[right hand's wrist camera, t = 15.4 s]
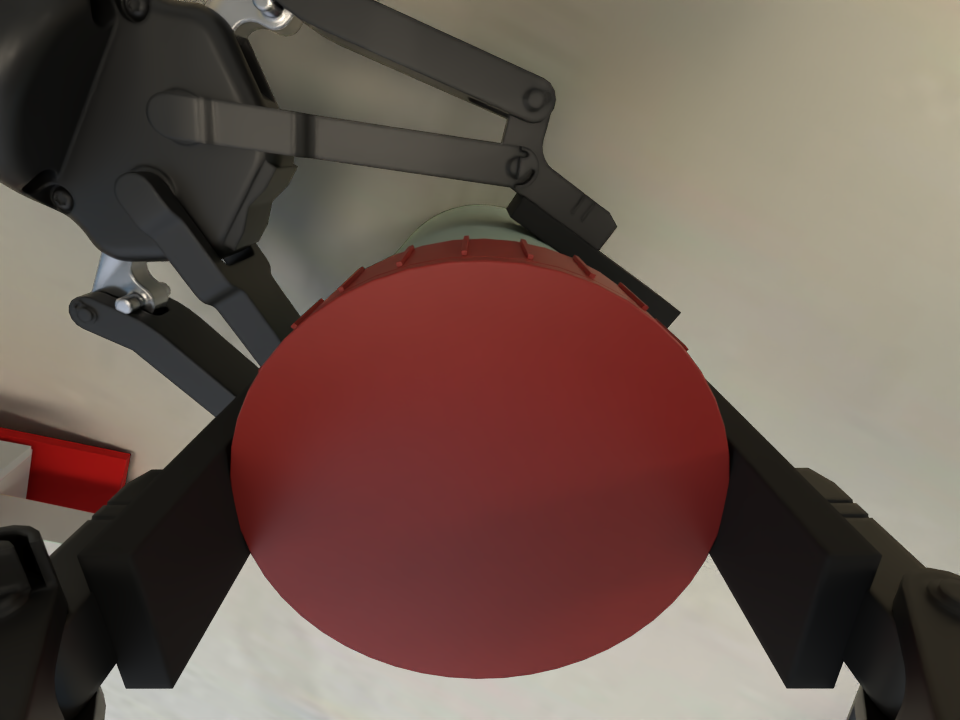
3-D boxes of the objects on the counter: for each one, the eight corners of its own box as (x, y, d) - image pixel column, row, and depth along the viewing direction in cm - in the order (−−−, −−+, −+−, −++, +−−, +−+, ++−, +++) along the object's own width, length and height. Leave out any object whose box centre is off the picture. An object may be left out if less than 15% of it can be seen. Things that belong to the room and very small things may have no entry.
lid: (759, 480, 13) (817, 549, 11) (444, 651, 15) (438, 737, 13) (535, 130, 10) (551, 122, 8) (183, 406, 12) (116, 463, 10)
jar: (395, 383, 27) (299, 643, 13) (381, 205, 24) (229, 284, 9) (566, 381, 27) (665, 640, 13) (576, 203, 24) (726, 278, 9)
